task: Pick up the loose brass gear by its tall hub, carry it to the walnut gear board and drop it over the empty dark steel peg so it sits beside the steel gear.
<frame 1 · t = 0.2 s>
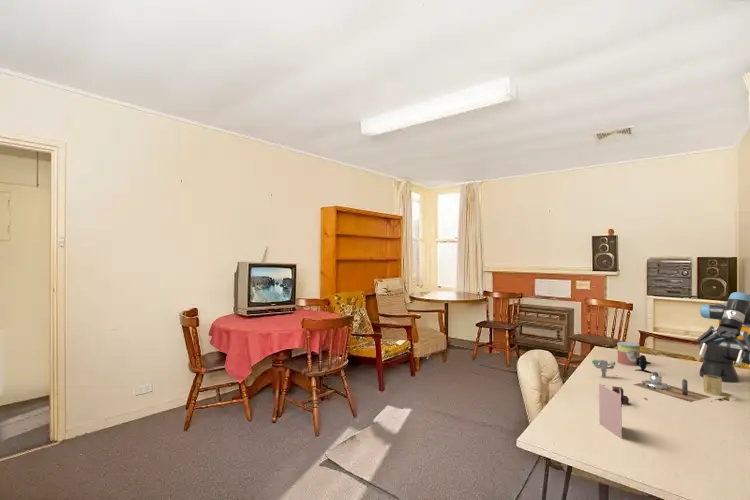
hand: (719, 359, 172), 16 cm above the table, tool tilted 35°, fingers open, 13 cm apart
mechanical component: (603, 380, 189), on the table
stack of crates: (616, 403, 160), on the table
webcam: (643, 373, 201), on the table
greeting card: (611, 431, 132), on the table
gear board: (670, 393, 170), on the table
canned food: (628, 363, 221), on the table
brass gear: (712, 396, 167), on the table
steel gear: (655, 386, 175), resting on gear board
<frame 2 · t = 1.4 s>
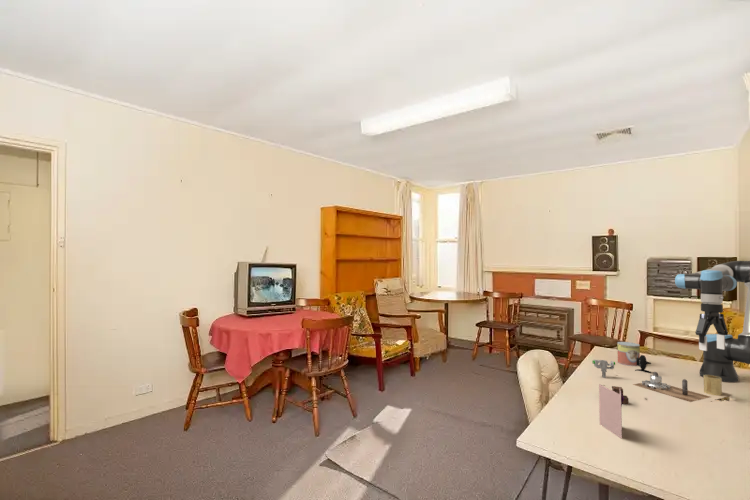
hand: (712, 349, 168), 21 cm above the table, tool pointing down, fingers open, 13 cm apart
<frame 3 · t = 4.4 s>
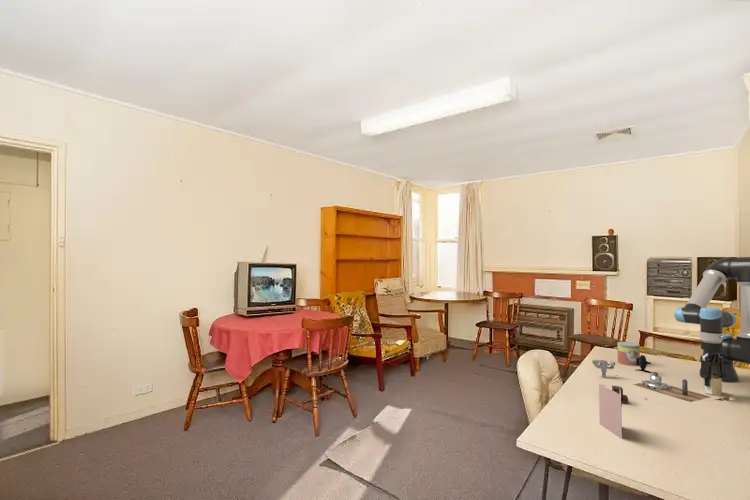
hand: (712, 392, 167), 2 cm above the table, tool pointing down, fingers closed on brass gear, 6 cm apart
brass gear: (712, 396, 167), on the table, touching gripper
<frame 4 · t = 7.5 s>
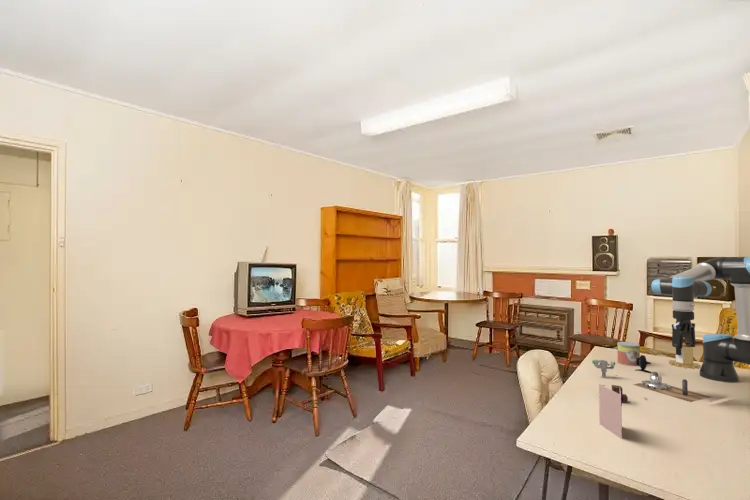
hand: (684, 361, 165), 16 cm above the table, tool pointing down, fingers closed on brass gear, 6 cm apart
brass gear: (684, 365, 165), point 15 cm above the table, touching gripper
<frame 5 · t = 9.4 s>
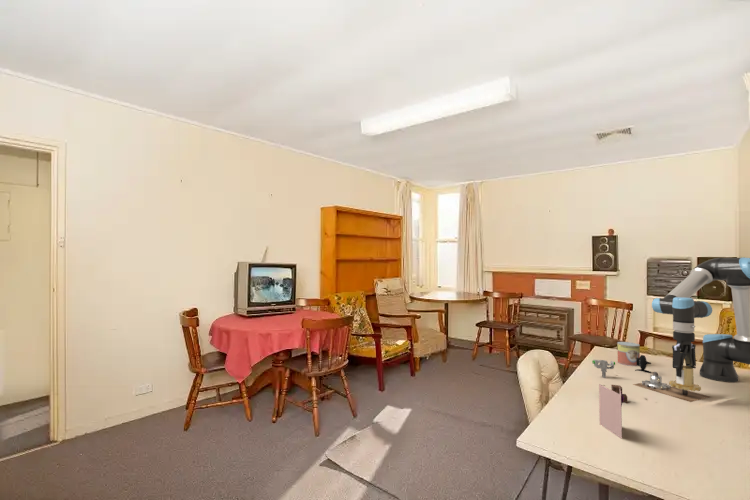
hand: (684, 382, 165), 7 cm above the table, tool pointing down, fingers closed on brass gear, 6 cm apart
brass gear: (684, 386, 164), point 5 cm above the table, touching gripper
when the fingers open (5 cm above the table, at t = 10.9 s): brass gear drops 1 cm, resting on gear board.
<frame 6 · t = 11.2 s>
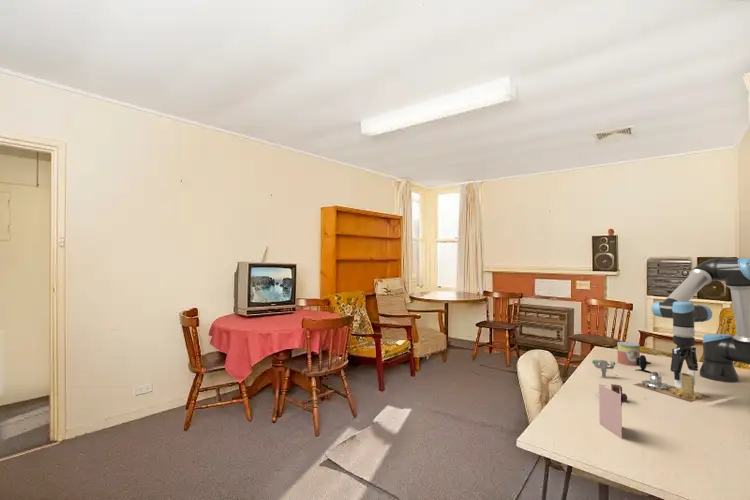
hand: (684, 385, 165), 6 cm above the table, tool pointing down, fingers open, 9 cm apart
brass gear: (685, 394, 164), point 1 cm above the table, touching gear board
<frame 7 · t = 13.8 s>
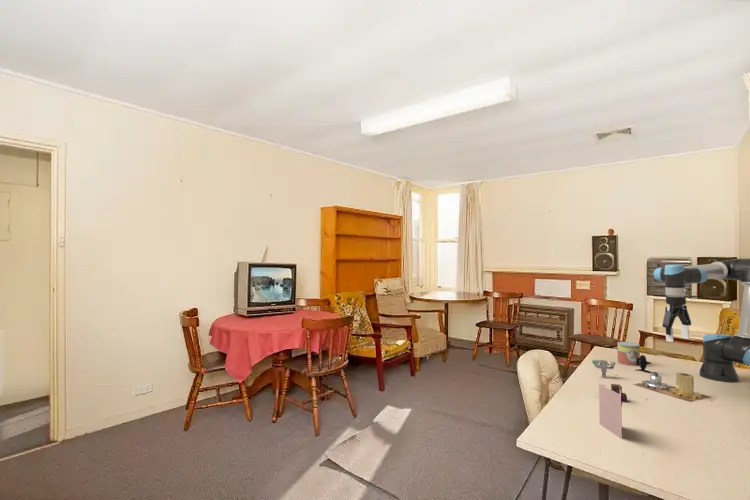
hand: (677, 340, 176), 24 cm above the table, tool pointing down, fingers open, 13 cm apart
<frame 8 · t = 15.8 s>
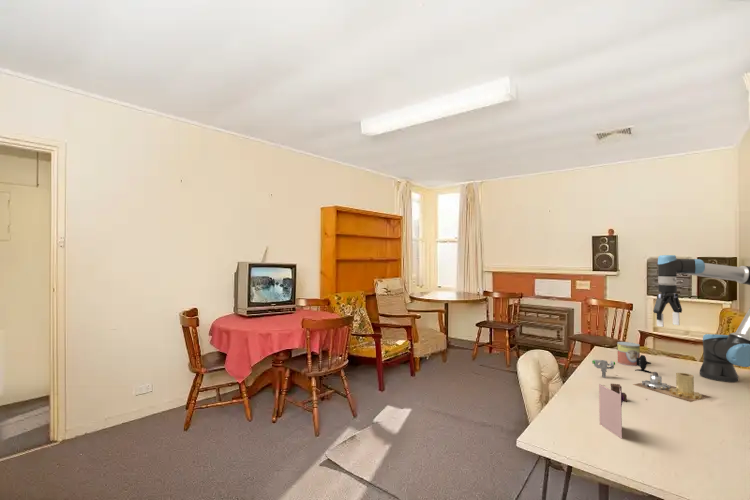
hand: (668, 325, 189), 29 cm above the table, tool pointing down, fingers open, 13 cm apart
at the end: brass gear 0.0 cm from the target spot on the gear board, point 1.5 cm above the gear board's base; brass gear tilted 0°; the gripper is holding nothing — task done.
